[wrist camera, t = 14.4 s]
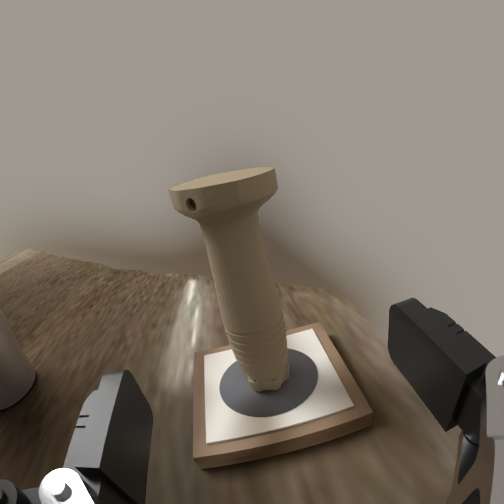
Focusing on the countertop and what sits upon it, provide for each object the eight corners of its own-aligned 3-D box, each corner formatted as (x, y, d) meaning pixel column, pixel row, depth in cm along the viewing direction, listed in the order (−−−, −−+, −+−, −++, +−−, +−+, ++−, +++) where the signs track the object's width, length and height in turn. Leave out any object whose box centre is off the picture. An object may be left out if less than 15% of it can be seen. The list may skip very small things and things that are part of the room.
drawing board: (200, 469, 17) (191, 455, 17) (199, 365, 28) (193, 350, 28) (371, 425, 18) (373, 409, 17) (321, 335, 29) (319, 319, 28)
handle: (254, 350, 26) (209, 174, 21) (321, 370, 22) (290, 163, 17) (217, 385, 23) (153, 194, 18) (286, 415, 19) (233, 183, 14)
